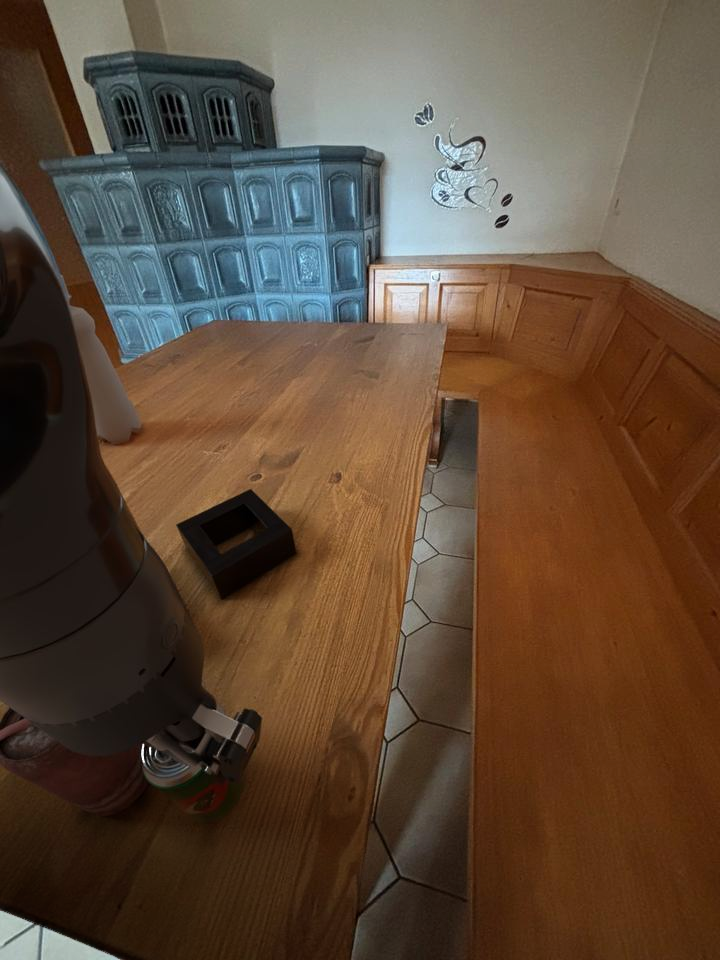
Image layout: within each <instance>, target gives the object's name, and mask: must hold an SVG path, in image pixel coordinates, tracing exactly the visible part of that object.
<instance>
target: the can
mask: <svg viewBox="0 0 720 960" xmlns="http://www.w3.org/2000/svg"><path fill="white" fill-rule="evenodd" d="M142 747H143V745H142V744H139V745H137V746H135V747H133V748H131V749H128V750H126V751H123V752H119V753H116V754H111V755H105V756H88V755H82V754H79V753H76V752H73V751H71V750H69V749H68V748H66V747H65V746H63V745H62V744H60V743H59V742H58V741H56V740H55V739H53V738H52V737H51V736H49V735H48V734H46V733H45V732H43V731H42V730H41V729H39V728H38V727H36V726H35V725H34V724H32V723H31V722H29V721H28V720H27V719H25V718H24V717H22V716H21V715H20V714H18V713H17V712H16V711H14V710H13V709H11V708H10V707H8V709H7V710H6V711H5V712H4V713H3V715H2V717H1V719H0V765H1V766H2V768H4V769H5V770H6V771H8V772H10V773H12V774H14V775H16V776H18V777H20V778H22V779H23V780H25V781H26V782H27V781H28V782H29V783H31V784H33V785H35V786H37V787H39V788H41V789H42V790H45V791H47V792H49V793H51V794H52V795H54V796H56V797H59V798H60V799H62V800H64V801H66V802H68V803H70V804H72V805H73V806H75V807H78V808H79V809H82V810H84V811H85V812H87V813H89V814H92V815H94V816H97V817H98V816H99V817H107V816H112V815H116V814H118V813H120V812H121V811H123V810H125V809H128V808H129V807H130V806H131V805H132V804H133V803H134V802H135V801H136V800H137V799H139V797H140V796H142V794H143V792H144V791H145V790H146V789H147V787H148V786H149V784H150V783H149V782H148V781H147V780H146V778H145V776H144V774H143V771H142V767H141V755H142Z"/></svg>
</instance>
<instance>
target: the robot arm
mask: <svg viewBox="0 0 720 960" xmlns="http://www.w3.org/2000/svg"><path fill="white" fill-rule="evenodd" d="M61 275H62V274H61V273H60V269H59V267H58V264H57V261H56V259H55V257H54V254H53V252H52V250H51V247H50V245H49V242H48V239H47V237H46V235H45V233H44V231H43V229H42V228H41V226H40V223H39V222H38V220H37V218H36V216H35V214H34V212H33V210H32V209H31V207H30V205H29V203H28V202H27V200H26V198H25V197H24V195H23V193H22V192H21V190H20V189H19V187H18V185H17V184H16V182H15V181H14V180H13V178H12V177H11V176H10V174H9V173H8V171H7V169H6V168H5V166H4V165H3V164H2V162H1V161H0V702H1V703H3V704H4V705H6V706H7V707H8V708H9V707H10V708H11V709H13V710H14V711H16V712H17V713H18V714H20V715H21V716H22V717H24V718H25V719H27V720H28V721H29V722H31V723H32V724H34V725H35V726H36V727H38V728H39V729H41V730H42V731H43V732H45V733H46V734H48V735H49V736H51V737H52V738H53V739H55V740H56V741H58V742H59V743H60V744H62V745H63V746H65V747H66V748H68V749H69V750H71V751H73V752H76V753H79V754H82V755H88V756H105V755H111V754H116V753H119V752H123V751H126V750H128V749H131V748H133V747H135V746H137V745H139V744H142V745H143V744H144V745H146V746H148V747H151V748H154V749H156V750H159V751H163V752H165V753H166V754H167V755H169V756H170V757H171V758H173V759H174V760H175V761H177V762H179V763H181V764H184V765H187V766H189V767H195V766H196V765H197V764H198V765H199V766H200V767H201V768H203V769H204V772H205V773H207V774H208V775H209V776H210V778H211V779H212V780H213V781H214V782H217V783H219V784H221V785H223V784H224V783H225V781H228V782H230V783H232V784H233V782H235V783H239V782H240V780H241V778H242V776H243V772H244V773H245V770H246V768H247V766H248V764H249V761H250V760H251V757H252V755H253V754H254V751H255V749H256V748H257V746H258V744H259V742H260V738H261V730H262V721H263V718H262V716H261V715H260V714H259V713H258V712H257V711H256V710H255V709H252V708H243V710H242V712H240V711H236V712H235V714H234V716H233V717H232V718H231V717H229V716H227V715H226V709H225V707H224V706H223V705H222V704H221V702H219V701H218V700H217V699H216V698H215V696H214V695H213V694H212V693H211V692H209V691H208V690H207V689H206V683H205V681H204V680H203V673H204V663H205V647H204V642H203V639H202V635H201V633H200V631H199V629H198V627H197V625H196V623H195V621H194V619H193V617H192V615H191V614H190V611H189V609H188V608H187V605H186V603H185V602H184V599H183V597H182V595H181V593H180V592H179V589H178V587H177V586H176V584H175V582H174V580H173V577H172V575H171V573H170V572H169V569H168V568H167V566H166V564H165V563H164V560H163V559H162V558H161V556H160V555H159V554H158V552H157V551H156V550H155V548H153V546H152V545H151V544H150V543H149V541H148V540H147V539H146V537H145V535H144V533H142V530H141V529H140V526H139V525H138V523H137V521H136V519H135V517H134V516H133V515H134V514H132V511H131V510H130V508H129V506H128V504H127V502H126V500H125V498H124V496H123V494H122V492H121V490H120V488H119V486H118V484H117V482H116V479H114V477H113V475H112V473H111V472H110V470H109V468H108V466H107V465H106V463H105V461H104V458H103V457H102V456H103V455H102V451H101V448H100V441H99V440H98V437H97V431H96V424H95V416H94V409H93V403H92V398H91V393H90V389H89V385H88V381H87V376H86V372H85V368H84V364H83V359H82V355H81V351H80V346H79V342H78V338H77V333H76V329H75V325H74V321H73V317H72V313H71V309H70V306H71V305H70V300H69V301H68V298H67V294H66V291H65V287H64V284H63V281H62V278H61ZM212 737H214V738H215V739H214V741H213V742H212V744H211V746H210V748H209V750H208V751H207V753H206V748H207V746H208V744H209V743H210V741H211V739H212ZM181 742H184V744H183V745H182V746H181V745H180V744H178V743H181Z"/></svg>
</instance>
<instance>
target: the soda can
mask: <svg viewBox="0 0 720 960" xmlns="http://www.w3.org/2000/svg"><path fill="white" fill-rule="evenodd" d="M214 739H215V738H214V737H212V739H211V741H210V743H209V744H208V746H207V748H206V753H207V751H208V750H209V748H210V746H211V744H212V742H213V741H214ZM178 744H180V745H181V746H182V745H183V744H184V742H181V743H178ZM141 767H142V771H143V774H144V776H145V778H146V780H147V781H148V782H149V784H150V785H151V786H152V787H153V788H154V789H156V790H157V791H158V792H159V793H160V794H162V795H163V796H164V797H165V798H166V799H168V801H170V802H171V803H172V804H173V805H175V806H176V807H177V808H178V809H179V810H180V811H181V812H182V813H184V814H185V815H187V817H189V818H190V819H191V820H192V821H194V822H195V823H198V824H200V825H209V824H214V823H217V822H219V821H221V820H222V819H224V818H225V817H226V816H228V814H230V813H231V811H232V810H233V809H234V808H235V807H236V806H237V804H238V803H239V800H240V798H241V796H242V793H243V790H244V787H245V771H244V772H243V776H242V778H241V780H240V782H239V783H235V782H233V784H232V783H230V782H228V781H225V783H224V784H223V785H221V784H219V783H217V782H214V781H213V780H212V779H211V778H210V776H209V775H208V774H207V773H205V772H204V769H203V768H201V767H200V766H199V765H198V764H197V765H196V766H195V767H189V766H187V765H184V764H181V763H179V762H177V761H175V760H174V759H173V758H171V757H170V756H169V755H167V754H166V753H165V752H163V751H159V750H156V749H154V748H151V747H148V746H146V745H144V744H143V747H142V755H141Z"/></svg>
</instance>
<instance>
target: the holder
mask: <svg viewBox="0 0 720 960" xmlns="http://www.w3.org/2000/svg"><path fill="white" fill-rule="evenodd" d="M176 527H177V530H178V533H179V535H180V537H181V540H182V541H183V544H184V546H185V548H186V550H187V552H188V553H189V554H190V556H191V557H192V559H193V560H194V562H195V563H196V565H197V566H198V568H199V570H201V572H202V574H203V576H205V578H206V579H207V581H208V583H209V584H210V585H211V587H212V588H213V590H214V591H215V593H216V594H217V596H218V597H219V598H220V600H223V599H225V598H227V597H228V596H230V595H231V594H233V593H235V592H236V591H238V590H240V589H241V588H243V587H244V586H246V585H247V584H249V583H251V582H253V581H254V580H256V579H257V578H259V577H260V576H262V575H264V574H265V573H268V572H269V571H270V570H272V569H273V568H275V567H277V566H279V565H280V564H282V563H284V562H285V561H287V560H288V559H290V558H291V557H293V556H295V555H296V554H297V548H296V544H295V543H296V541H295V537H294V531H293V528H291V526H290V525H289V524H287V523H286V522H285V521H284V520H283V519H282V518H281V517H280V516H279V515H278V514H277V512H275V510H274V509H272V508H271V507H270V506H269V505H268V504H267V503H266V502H265V501H264V500H263V499H262V498H261V497H260V496H259V495H258V494H257V493H256V492H255V491H254V490H253V489H252V488H250V489H247V490H246V491H243V492H241V493H239V494H237V495H235V496H233V497H231V498H228V499H226V500H224V501H222V502H220V503H218V504H216V505H214V506H212V507H209V508H208V509H205V510H204V511H202V512H199V513H197V514H196V515H193V516H190V517H189V518H187V519H185V520H183V521H181V522H179V523H176ZM249 528H251V529H252V530H253V531H254V533H256V534H255V535H254V536H251V537H250V538H248V539H246V540H245V541H243V542H241V543H239V544H238V545H235V546H233V547H232V548H230V549H229V550H226V551H225V552H223V553H221V552H220V550H219V549H218V548H217V546H218V545H220V544H222V543H223V542H225V541H227V540H229V539H231V538H233V537H234V536H236V535H238V534H240V533H242V532H245V531H246V530H248V529H249Z"/></svg>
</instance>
